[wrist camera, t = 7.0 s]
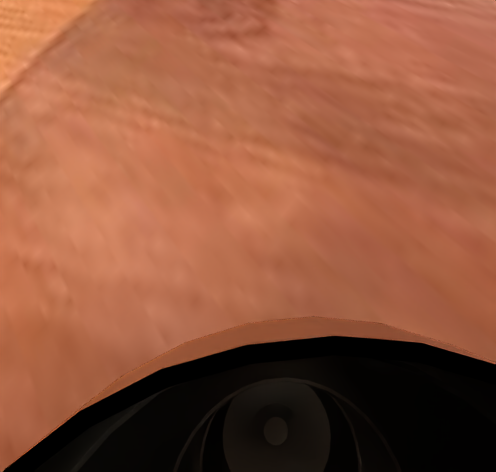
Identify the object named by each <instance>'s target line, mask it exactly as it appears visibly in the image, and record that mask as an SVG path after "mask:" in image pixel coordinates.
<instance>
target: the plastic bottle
mask: <svg viewBox="0 0 496 472" xmlns="http://www.w3.org/2000/svg"><path fill="white" fill-rule="evenodd" d="M3 472H496V363H495V362H492V361H490V360H488V359H485V358H483V357H480V356H478V355H475V354H473V353H471V352H468V351H466V350H463V349H461V348H458V347H456V346H453V345H451V344H448V343H444V342H441V341H438V340H434V339H431V338H428V337H425V336H421V335H418V334H415V333H411V332H408V331H405V330H401V329H398V328H395V327H391V326H388V325H385V324H382V323H373V322H363V321H354V320H344V319H334V318H325V317H315V316H313V317H303V318H292V319H282V320H272V321H262V322H252V323H246V324H243V325H240V326H237V327H234V328H230V329H227V330H224V331H221V332H217V333H214V334H211V335H208V336H204V337H201V338H198V339H195V340H191V341H188V342H185V343H183V344H181V345H179V346H177V347H176V348H174V349H172V350H170V351H168V352H166V353H164V354H162V355H161V356H159V357H157V358H155V359H153V360H151V361H149V362H147V363H146V364H144V365H142V366H140V367H138V368H136V369H134V370H132V371H131V372H129V373H127V374H125V375H123V376H121V377H120V378H119V379H117V380H116V381H115V382H114V383H112V384H111V385H110V386H108V387H107V388H106V389H105V390H103V391H102V392H101V393H99V394H98V395H97V396H96V397H94V398H93V399H92V400H91V401H89V402H88V403H87V404H85V405H84V406H83V407H82V408H80V409H79V410H78V411H76V412H75V413H74V414H73V415H71V416H70V417H69V418H67V419H66V420H65V421H64V422H62V423H61V424H60V425H58V426H57V427H56V428H55V429H54V430H52V431H51V432H50V433H49V434H47V435H46V436H45V437H44V438H42V439H41V440H40V441H39V442H38V443H36V444H35V445H34V446H33V447H31V448H30V449H29V450H28V451H27V452H25V453H24V454H23V455H22V456H20V457H19V458H18V459H17V460H15V461H14V462H13V463H12V464H11V465H9V466H8V467H7V468H6V469H5V470H4V471H3Z"/></svg>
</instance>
